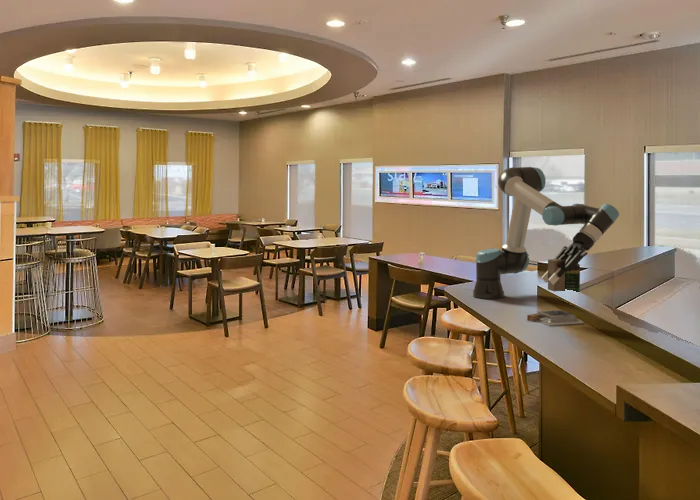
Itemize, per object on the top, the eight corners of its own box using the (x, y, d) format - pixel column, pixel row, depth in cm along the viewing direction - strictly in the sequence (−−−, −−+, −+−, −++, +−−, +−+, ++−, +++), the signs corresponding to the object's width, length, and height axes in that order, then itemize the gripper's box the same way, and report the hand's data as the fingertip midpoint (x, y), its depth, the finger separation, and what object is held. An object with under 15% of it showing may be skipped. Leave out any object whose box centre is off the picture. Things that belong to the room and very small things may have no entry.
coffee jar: (579, 303, 231) (580, 263, 229) (560, 302, 234) (561, 262, 232) (579, 299, 239) (580, 260, 238) (561, 298, 243) (561, 260, 241)
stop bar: (547, 289, 202) (547, 259, 201) (558, 288, 203) (558, 258, 202) (553, 291, 198) (554, 260, 197) (564, 290, 198) (564, 260, 197)
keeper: (530, 317, 207) (530, 310, 207) (562, 315, 209) (562, 308, 209) (548, 326, 194) (548, 318, 193) (582, 323, 196) (582, 315, 195)
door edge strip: (527, 320, 204) (527, 315, 204) (553, 314, 212) (553, 309, 212) (532, 321, 202) (532, 316, 201) (558, 315, 210) (558, 310, 209)
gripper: (606, 245, 192) (566, 291, 191) (579, 242, 209) (542, 284, 209) (594, 232, 191) (553, 278, 190) (567, 229, 208) (529, 271, 207)
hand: (547, 281), depth 199 cm, fingers closed on stop bar, 4 cm apart
